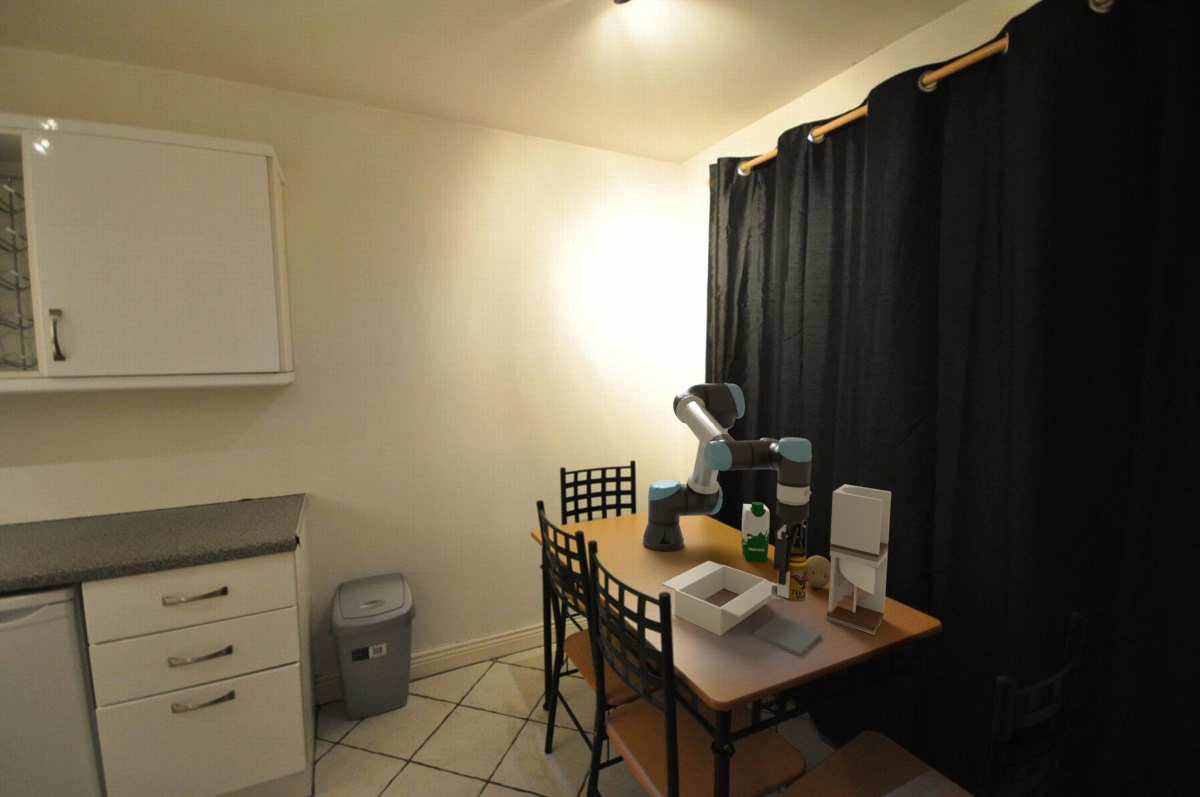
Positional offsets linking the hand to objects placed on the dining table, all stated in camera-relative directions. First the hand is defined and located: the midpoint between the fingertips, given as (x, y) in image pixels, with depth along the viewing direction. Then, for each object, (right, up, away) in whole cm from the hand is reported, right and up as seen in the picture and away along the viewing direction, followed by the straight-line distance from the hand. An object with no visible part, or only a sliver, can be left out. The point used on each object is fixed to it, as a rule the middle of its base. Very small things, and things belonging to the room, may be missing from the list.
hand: (789, 591), depth 128 cm
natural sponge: (+18, -10, +28) cm, 35 cm away
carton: (-13, -10, +15) cm, 22 cm away
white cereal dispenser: (+21, -11, +9) cm, 26 cm away
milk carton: (+7, -8, +51) cm, 52 cm away
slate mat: (0, -12, +1) cm, 12 cm away
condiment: (0, -1, 0) cm, 1 cm away
